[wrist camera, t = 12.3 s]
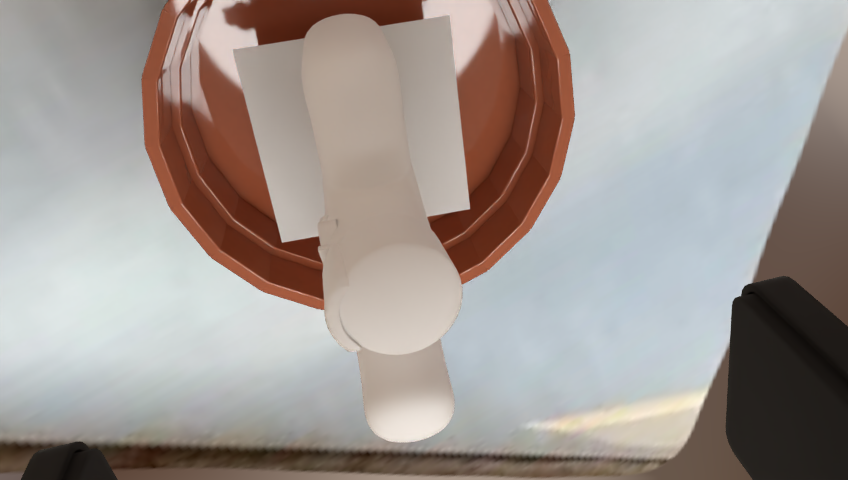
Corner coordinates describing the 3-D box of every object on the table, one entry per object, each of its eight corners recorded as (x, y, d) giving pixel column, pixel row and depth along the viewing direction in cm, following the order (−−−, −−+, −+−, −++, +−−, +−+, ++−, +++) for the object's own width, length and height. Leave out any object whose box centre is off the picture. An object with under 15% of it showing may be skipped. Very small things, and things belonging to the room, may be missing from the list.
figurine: (429, -33, 26) (550, 59, 13) (455, 196, 30) (565, 440, 17) (235, -3, 25) (149, 125, 12) (291, 225, 30) (273, 500, 17)
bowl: (110, -63, 24) (65, -50, 20) (511, -146, 25) (554, -152, 21) (237, 282, 31) (225, 348, 27) (549, 211, 32) (587, 263, 28)
